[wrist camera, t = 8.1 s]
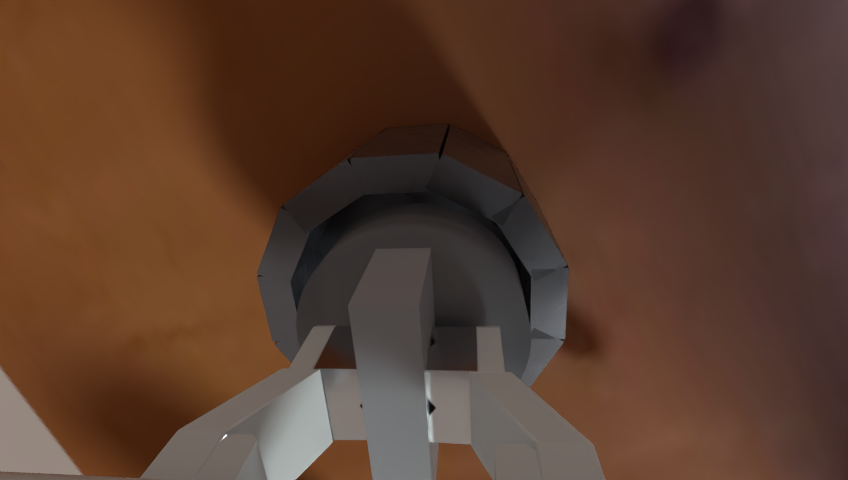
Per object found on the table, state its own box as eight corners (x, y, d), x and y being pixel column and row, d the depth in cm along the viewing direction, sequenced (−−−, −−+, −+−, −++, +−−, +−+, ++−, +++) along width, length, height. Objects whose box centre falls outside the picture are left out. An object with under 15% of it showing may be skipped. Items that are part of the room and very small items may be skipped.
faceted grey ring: (540, 117, 16) (574, 144, 11) (535, 327, 19) (560, 426, 14) (302, 133, 17) (229, 165, 12) (338, 330, 20) (292, 422, 15)
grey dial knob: (524, 199, 11) (557, 283, 7) (519, 380, 13) (542, 527, 9) (307, 206, 11) (218, 284, 7) (336, 377, 13) (279, 512, 9)
